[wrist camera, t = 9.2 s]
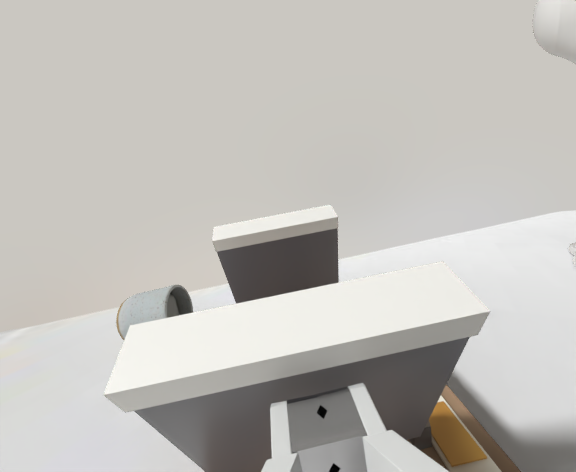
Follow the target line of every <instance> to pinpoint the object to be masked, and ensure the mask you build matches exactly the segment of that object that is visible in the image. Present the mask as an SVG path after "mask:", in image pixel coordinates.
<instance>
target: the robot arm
mask: <svg viewBox="0 0 576 472" xmlns="http://www.w3.org/2000/svg"><path fill="white" fill-rule="evenodd" d="M533 33H534V36H535V38H536V40H537V42H538V44H539V45H540V46H541V47H542V48H543V49H544V50H545V51H547V52H548V53H550V54H553V55H555V56H558V57H562V58H564V59H567V60H569V61H571V62H573V63H575V64H576V0H538V1H537V3H536V6H535V10H534V14H533ZM569 252H570V253H571V254H573V255H574V258H573V260H572V262H573V264H574V266H575V267H576V243H572V244H570V246H569ZM270 419H271V448H272V459H268V460H266V462H265V464H264V466H263V468H262V470H261V472H449V471H448V470H446V469H445V468H444V467H442V466H441V465H440V464H438V463H437V462H435V461H434V460H433V459H431V458H430V457H429V456H427V455H426V454H425V453H423V452H422V451H420V450H419V449H418V448H416V447H415V446H414V445H412V444H411V443H410V442H408V441H407V440H405V439H404V438H403V437H401V436H400V435H399V434H397V433H396V432H395V431H393V430H388V431H387V429H386V427H385V425H384V423H383V421H382V419H381V417H380V415H379V413H378V411H377V409H376V407H375V405H374V403H373V401H372V398H371V396H370V394H369V392H368V390H367V388H366V386H365V385H364V384H363V383H360V384H355V385H351V386H348V387H343V388H339V389H335V390H330V391H326V392H322V393H318V394H315V395H310V396H305V397H300V398H295V399H290V400H287V401H282V402H277V403H272V404H271V407H270Z"/></svg>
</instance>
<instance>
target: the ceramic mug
mask: <svg viewBox="0 0 576 472" xmlns="http://www.w3.org/2000/svg"><path fill="white" fill-rule="evenodd" d="M188 313H193V306H192V302H191V299H190V296H189V294H188V292H187V291H186V289H185V288H183V287H182V286H180V285H173V286H169V287H165V288H161V289H156V290H152V291H148V292H143V293H139V294H136V295H134V296H131V297H129V298H127V299H126V300H125V301H124V302H123V303H122V304H121V306H120V308H119V310H118V313H117V321H116V323H117V329H118V332H119V334H120V336H121V337H122V339H123V340H125V337H126V335H127V332H128V329H129V327H130V325H135V324H140V323H145V322H150V321H154V320H159V319H164V318H169V317H174V316H179V315H184V314H188ZM122 345H123V344H122ZM121 348H122V347H121ZM120 350H121V349H120Z"/></svg>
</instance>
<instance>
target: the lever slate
mask: <svg viewBox="0 0 576 472" xmlns="http://www.w3.org/2000/svg"><path fill="white" fill-rule="evenodd" d="M337 228H338V216H337V214H336V213H335V211H334V209H333V208H332V206H331V205H326V206H321V207H316V208H311V209H305V210H300V211H295V212H289V213H284V214H280V215H274V216H269V217H263V218H259V219H253V220H248V221H243V222H237V223H232V224H227V225H222V226H217V227H214V231H213V239H212V242H213V245H214V247H215V250H216V252H217V253H218V256H219V259H220V261H221V264H222V267H223V269H224V272H225V275H226V277H227V280H228V283H229V285H230V288H231V291H232V293H233V296H234V299H235V301H236V304H237V303H242V302H247V301H252V300H257V299H261V298H266V297H271V296H276V295H281V294H286V293H291V292H295V291H300V290H305V289H310V288H315V287H320V286H325V285H329V284H334V283H338V234H337V232H338V231H337Z"/></svg>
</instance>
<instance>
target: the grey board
mask: <svg viewBox="0 0 576 472" xmlns="http://www.w3.org/2000/svg"><path fill="white" fill-rule="evenodd" d="M489 313H490V310H489V309H488V308H487V307H486V306H485V305H484V304H483V303H482V302H481V301H480V300H479V299H478V298H477V296H476V295H475V294H474V293H473V292H472V291H471V290H470V289H469V288H468V287H467V286H466V285H465V284H464V283H463V282H462V281H461V280H460V279H459V277H458V276H457V275H456V274H455V273H454V272H453V271H452V270H451V269H450V268H449V267H448V266H447V265H446V264H445V263H444V262H443V261H441V262H436V263H432V264H427V265H422V266H417V267H412V268H407V269H402V270H397V271H393V272H388V273H383V274H378V275H373V276H368V277H363V278H359V279H354V280H349V281H344V282H339V283H334V284H329V285H325V286H320V287H315V288H310V289H305V290H300V291H295V292H291V293H286V294H281V295H276V296H271V297H266V298H261V299H257V300H252V301H247V302H242V303H237V304H232V305H227V306H222V307H218V308H213V309H208V310H203V311H198V312H193V313H188V314H184V315H179V316H174V317H169V318H164V319H159V320H154V321H150V322H145V323H140V324H135V325H130V327H129V329H128V332H127V335H126V337H125V340H124V342H123V345H122V348H121V350H120V353H119V355H118V358H117V361H116V363H115V366H114V369H113V371H112V374H111V376H110V379H109V382H108V384H107V387H106V389H105V392H104V396H105V397H106V398H108V399H109V400H110V401H111V402H113V403H114V404H115V405H116V406H118V407H119V408H120V409H121V410H123V411H124V412H125V413H126V412H131V411H135V412H136V413H137V414H138V415H139V416H141V417H142V418H143V419H144V420H145V421H146V422H148V423H149V424H150V425H151V426H152V427H154V428H155V429H156V430H157V431H158V432H159V433H161V434H162V435H163V436H164V437H165V438H166V439H168V440H169V441H170V442H171V443H172V444H174V445H175V446H176V447H177V448H178V449H179V450H181V451H182V452H183V453H184V454H185V455H186V456H188V457H189V458H190V459H191V460H192V461H194V462H195V463H196V464H197V465H198V466H199V467H201V468H202V469H203V470H204V471H205V472H261V470H262V468H263V466H264V464H265V462H266V460H268V459H272V448H271V419H270V407H271V404H272V403H277V402H282V401H287V400H290V399H295V398H300V397H305V396H310V395H315V394H318V393H322V392H326V391H330V390H335V389H339V388H343V387H348V386H351V385H355V384H360V383H363V384H364V385H365V386H366V388H367V390H368V392H369V394H370V396H371V398H372V401H373V403H374V405H375V407H376V409H377V411H378V413H379V415H380V417H381V419H382V421H383V423H384V425H385V427H386V429H387V431H388V430H393V431H395V432H396V433H397V434H399V435H400V436H401V437H403V438H404V439H405V440H408V439H412V438H416V437H420V436H421V434H422V432H423V430H424V428H425V426H426V424H427V422H428V420H429V418H430V416H431V414H432V412H433V410H434V408H435V406H436V404H437V402H438V400H439V398H440V396H441V394H442V392H443V390H444V388H445V386H446V384H447V382H448V380H449V378H450V376H451V374H452V372H453V370H454V368H455V365H456V363H457V361H458V359H459V357H460V355H461V353H462V351H463V349H464V347H465V345H466V343H467V341H468V339H469V337H471V336H475V335H478V334H479V332H480V330H481V328H482V326H483V324H484V322H485V320H486V318H487V317H488V315H489Z"/></svg>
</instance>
